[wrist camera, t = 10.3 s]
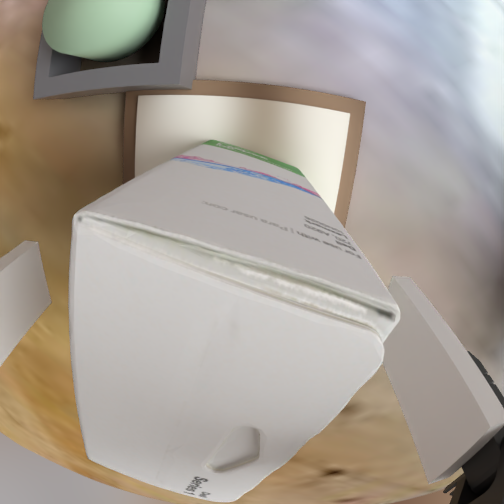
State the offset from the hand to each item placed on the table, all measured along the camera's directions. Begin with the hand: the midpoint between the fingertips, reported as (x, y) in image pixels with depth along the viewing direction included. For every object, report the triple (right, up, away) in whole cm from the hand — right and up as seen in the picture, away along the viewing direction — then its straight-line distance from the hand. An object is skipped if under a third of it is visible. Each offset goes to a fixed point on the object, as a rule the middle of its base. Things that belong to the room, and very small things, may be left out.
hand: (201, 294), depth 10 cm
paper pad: (+1, +3, +6) cm, 7 cm away
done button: (-5, +13, 0) cm, 14 cm away
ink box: (0, +3, +6) cm, 6 cm away
